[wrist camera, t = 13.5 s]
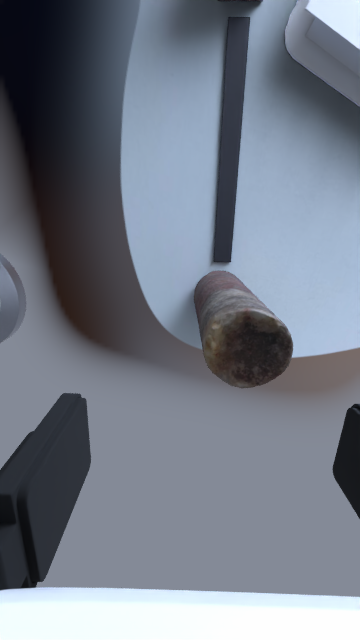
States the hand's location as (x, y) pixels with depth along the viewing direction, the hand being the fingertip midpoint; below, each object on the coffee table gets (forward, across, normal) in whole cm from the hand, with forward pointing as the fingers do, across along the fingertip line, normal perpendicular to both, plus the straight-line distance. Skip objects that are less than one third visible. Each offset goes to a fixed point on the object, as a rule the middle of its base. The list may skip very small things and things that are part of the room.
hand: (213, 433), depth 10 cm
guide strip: (+32, -4, -17) cm, 36 cm away
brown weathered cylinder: (+32, -4, +2) cm, 32 cm away
